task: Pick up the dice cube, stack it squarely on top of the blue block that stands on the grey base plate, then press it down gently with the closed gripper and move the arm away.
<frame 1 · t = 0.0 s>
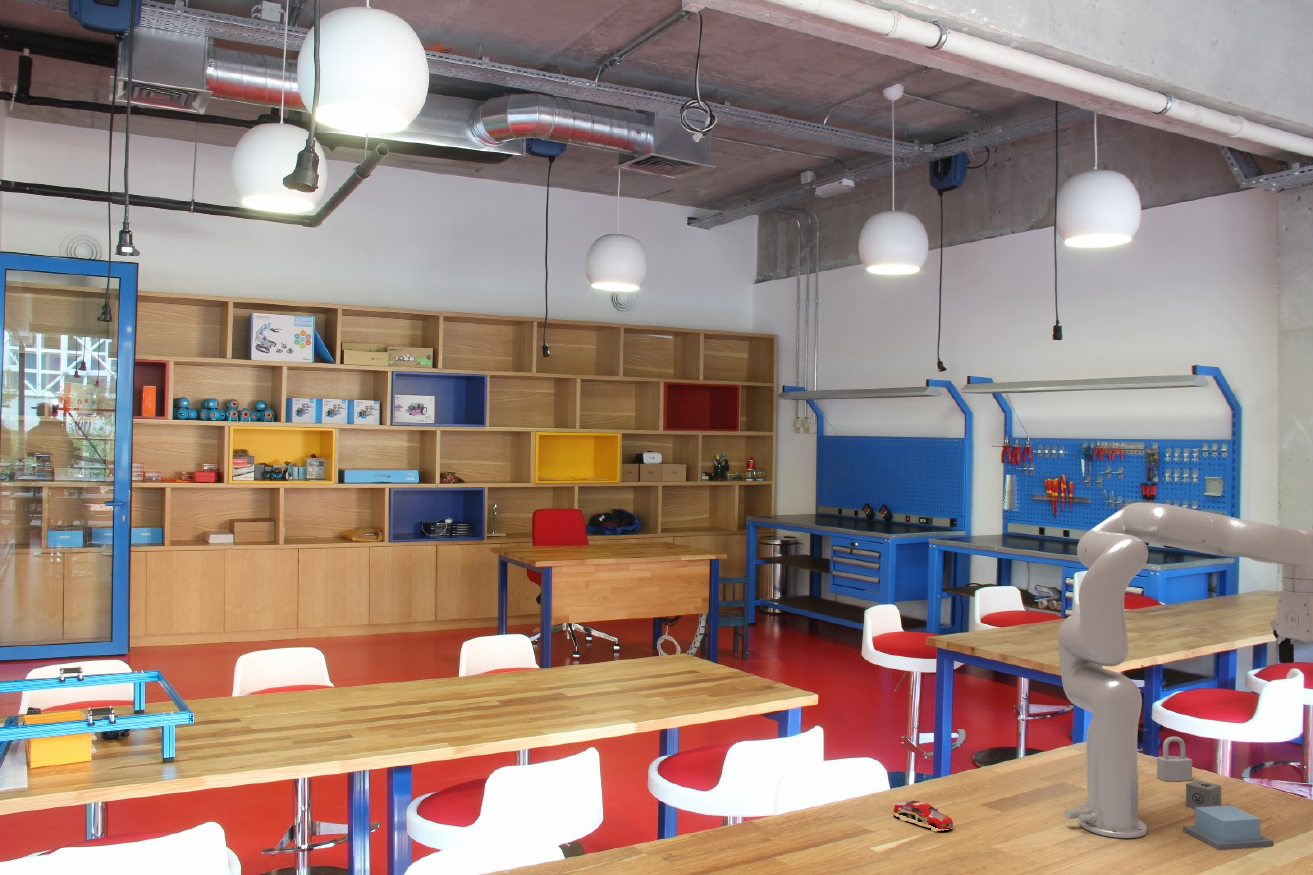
hand: (1304, 667, 214), 31 cm above the table, tool pointing down, fingers open, 9 cm apart
race car: (923, 825, 209), on the table
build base: (1227, 838, 201), on the table
padlock: (1174, 780, 238), on the table
dice cube: (1203, 809, 219), on the table
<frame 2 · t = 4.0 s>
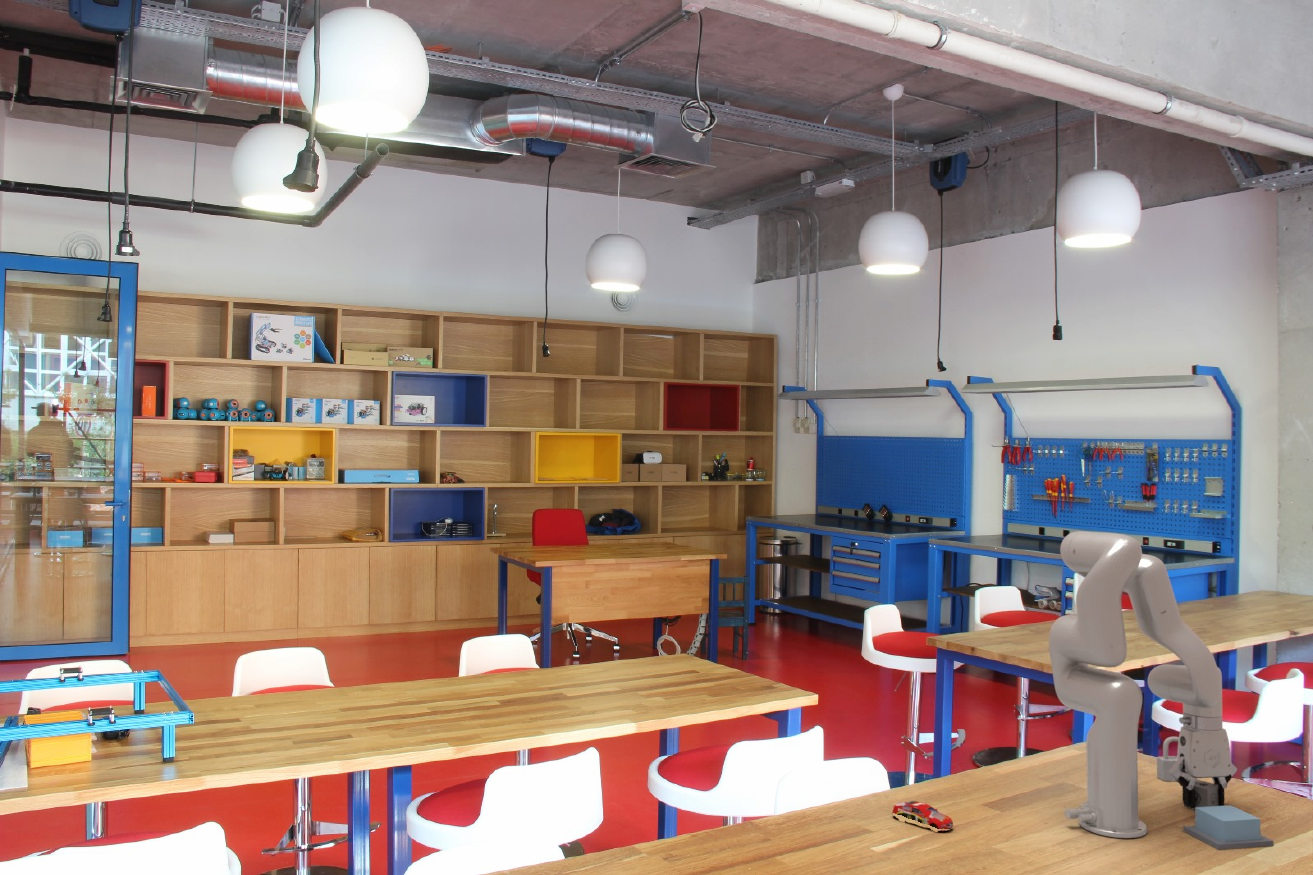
hand: (1203, 804, 219), 1 cm above the table, tool pointing down, fingers closed on dice cube, 6 cm apart
dice cube: (1201, 808, 219), on the table, touching gripper
everything else where it was.
when the fingers open (7 cm above the table, at t = 9.3 s): dice cube drops 1 cm, resting on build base.
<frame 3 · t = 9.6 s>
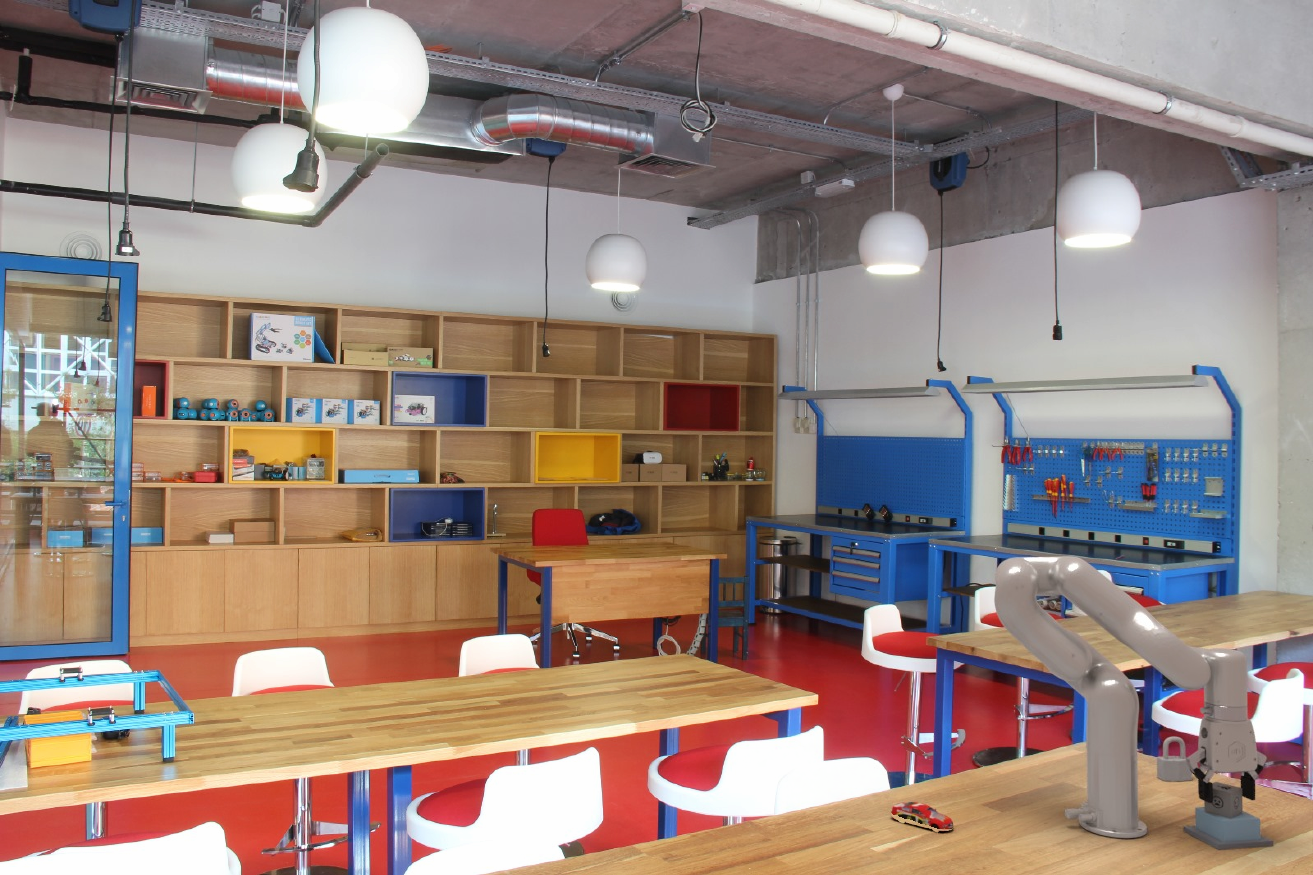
hand: (1226, 799, 201), 8 cm above the table, tool pointing down, fingers open, 9 cm apart
dice cube: (1223, 813, 201), point 5 cm above the table, touching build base
everything else where it was.
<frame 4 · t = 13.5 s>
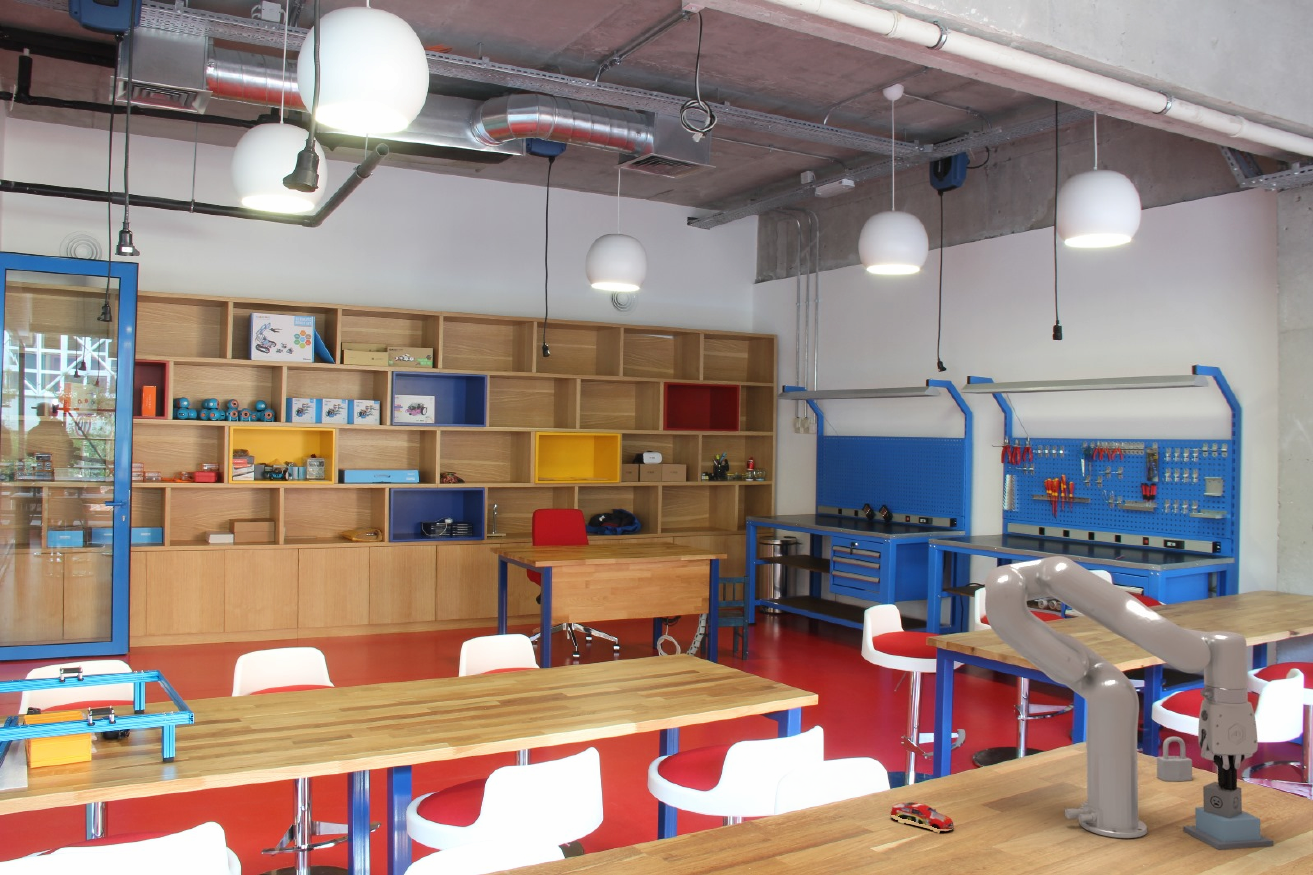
hand: (1227, 787, 201), 10 cm above the table, tool pointing down, fingers closed
dice cube: (1222, 813, 201), point 5 cm above the table, touching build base, gripper
everything else where it was.
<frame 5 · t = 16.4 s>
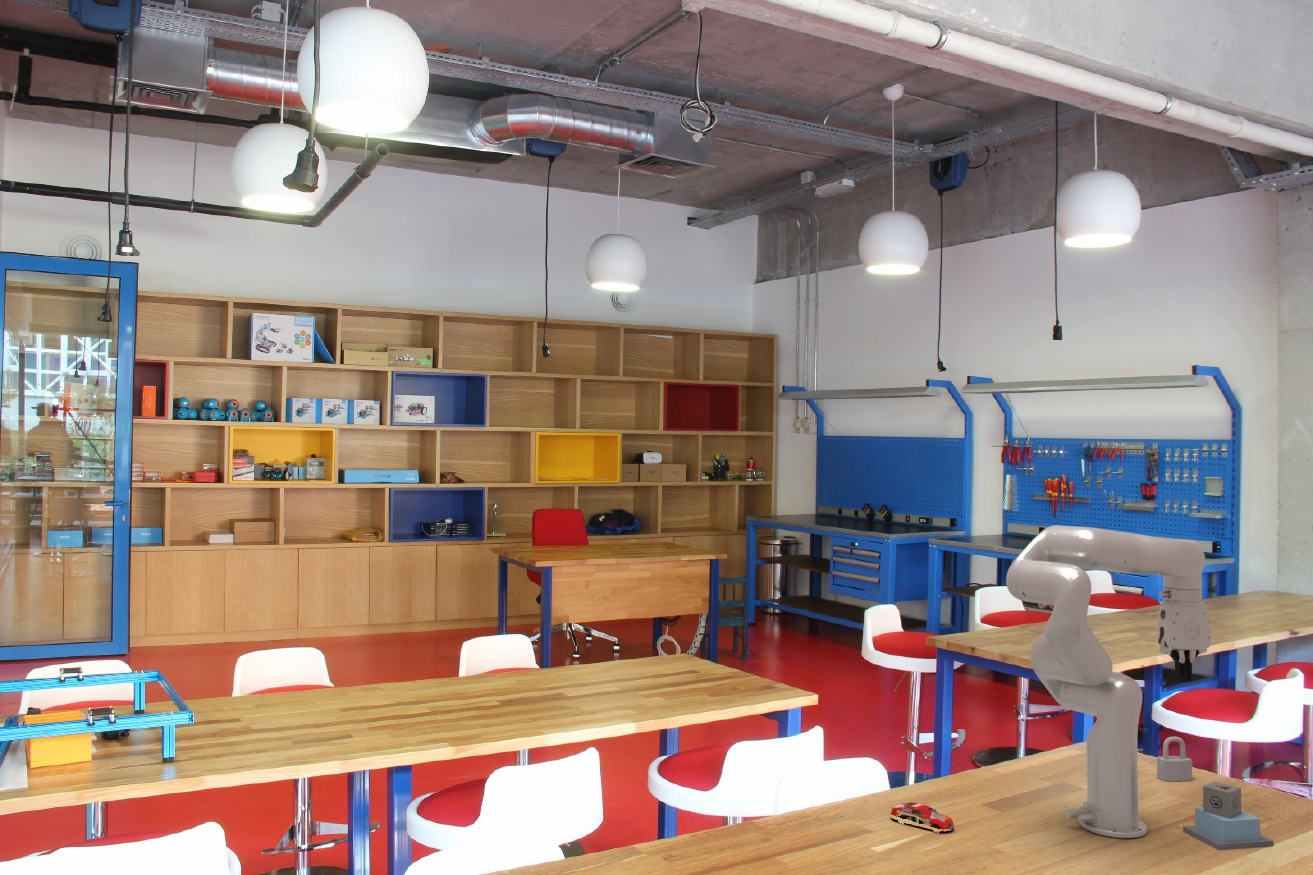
hand: (1183, 680, 221), 27 cm above the table, tool pointing down, fingers closed
dice cube: (1222, 813, 201), point 5 cm above the table, touching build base
at the end: dice cube 0.8 cm off-centre on the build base, point 4.8 cm above the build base's base; dice cube tilted 0°; the gripper is holding nothing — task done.
